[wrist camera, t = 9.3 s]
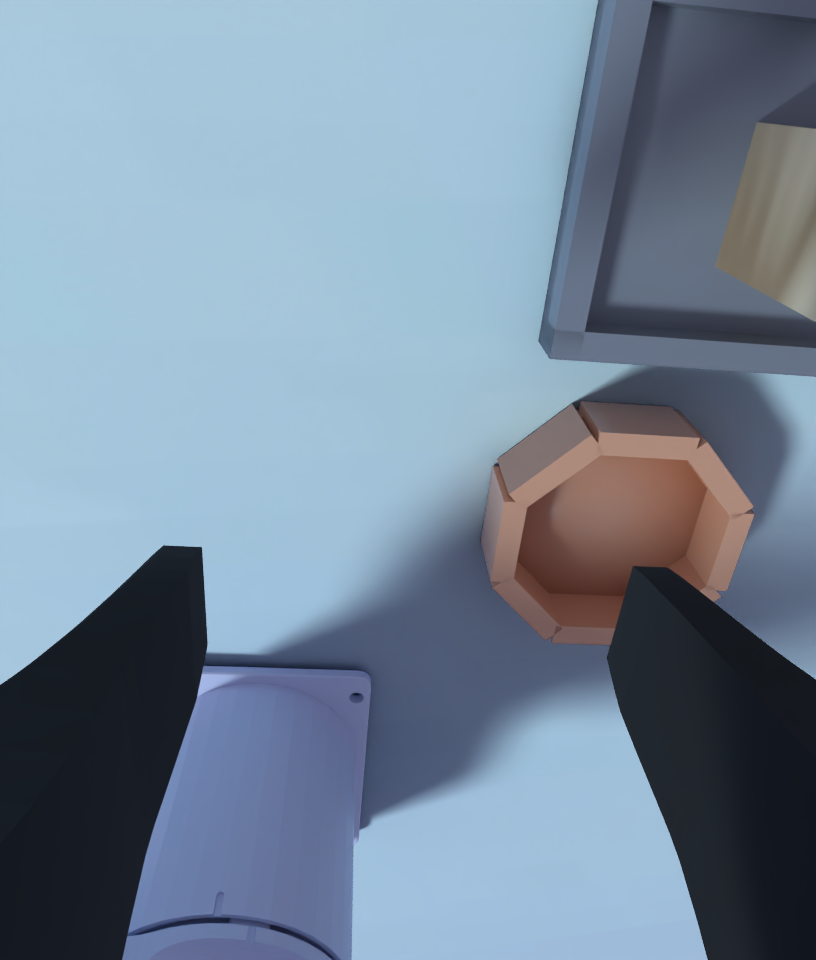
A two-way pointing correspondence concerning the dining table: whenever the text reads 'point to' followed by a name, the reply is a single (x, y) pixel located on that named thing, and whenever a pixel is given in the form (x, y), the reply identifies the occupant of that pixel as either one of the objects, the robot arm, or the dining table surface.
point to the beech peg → (776, 218)
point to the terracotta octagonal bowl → (608, 516)
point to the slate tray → (676, 186)
